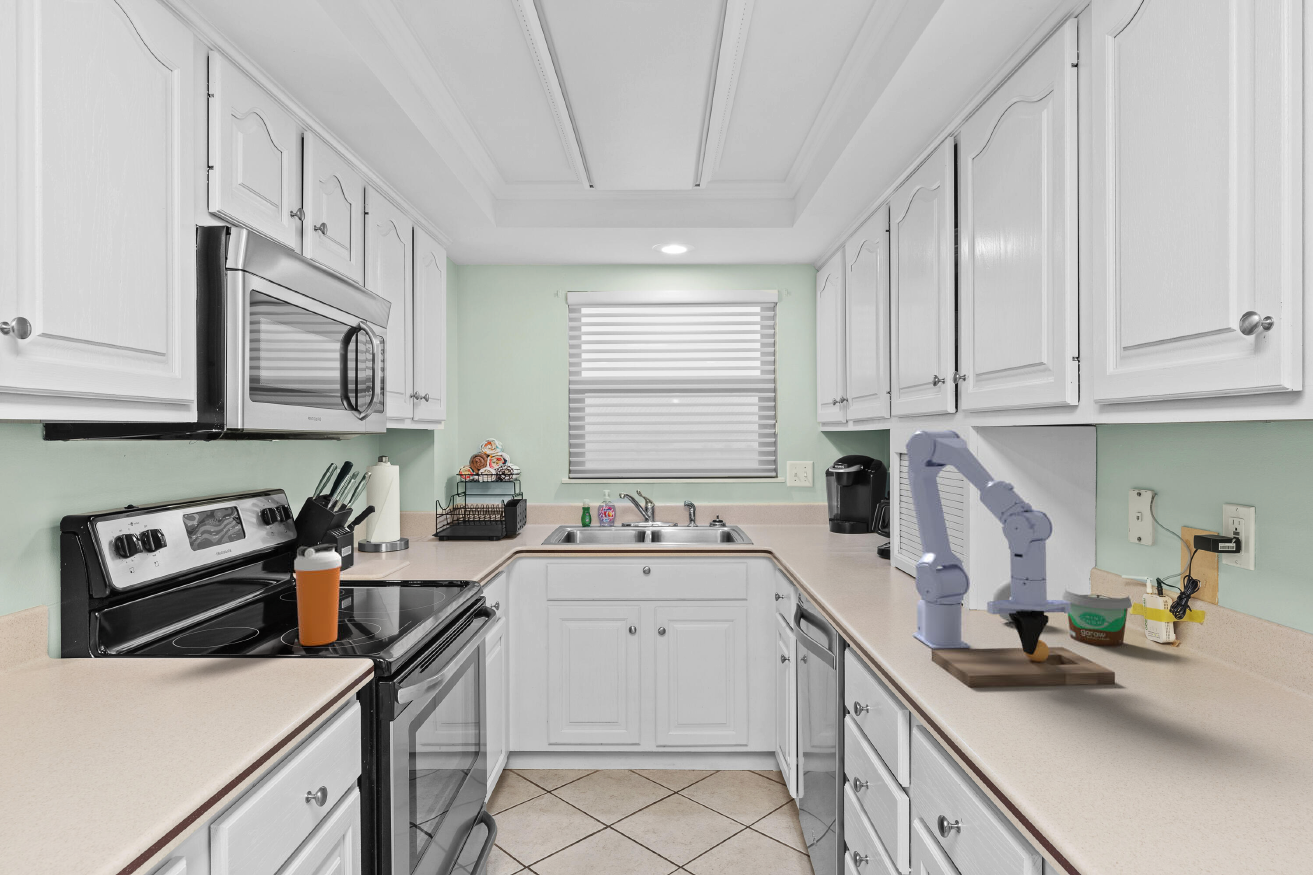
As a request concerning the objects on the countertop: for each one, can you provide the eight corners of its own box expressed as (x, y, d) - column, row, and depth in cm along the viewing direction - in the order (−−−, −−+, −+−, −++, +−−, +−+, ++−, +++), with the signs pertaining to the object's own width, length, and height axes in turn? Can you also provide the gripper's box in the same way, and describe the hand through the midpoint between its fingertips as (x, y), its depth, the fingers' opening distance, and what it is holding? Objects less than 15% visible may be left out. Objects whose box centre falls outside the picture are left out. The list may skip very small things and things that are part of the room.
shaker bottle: (350, 638, 145) (350, 544, 145) (310, 649, 138) (309, 550, 137) (326, 632, 150) (325, 541, 150) (285, 642, 142) (285, 547, 142)
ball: (1043, 644, 127) (1036, 664, 126) (1023, 634, 127) (1016, 654, 126) (1057, 645, 123) (1049, 666, 122) (1036, 635, 123) (1029, 656, 122)
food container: (1063, 643, 141) (1064, 594, 141) (1062, 635, 147) (1062, 588, 147) (1136, 652, 135) (1136, 601, 135) (1131, 643, 141) (1131, 595, 141)
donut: (996, 624, 155) (997, 580, 155) (989, 620, 158) (989, 577, 158) (1041, 624, 155) (1041, 580, 155) (1032, 620, 158) (1033, 577, 158)
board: (931, 659, 131) (931, 649, 131) (1062, 657, 132) (1062, 646, 132) (969, 687, 117) (969, 675, 117) (1114, 683, 118) (1114, 672, 118)
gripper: (1001, 582, 120) (1002, 660, 120) (1081, 581, 121) (1083, 658, 120) (980, 575, 127) (981, 648, 127) (1056, 574, 128) (1057, 647, 127)
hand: (1029, 652), depth 124 cm, fingers closed, pressing on ball
